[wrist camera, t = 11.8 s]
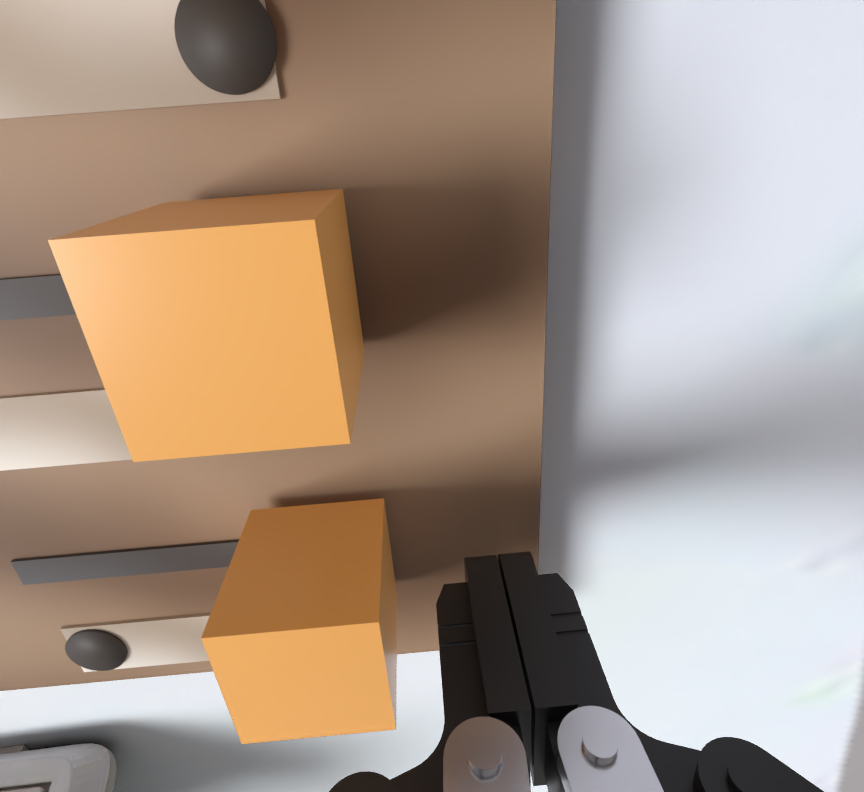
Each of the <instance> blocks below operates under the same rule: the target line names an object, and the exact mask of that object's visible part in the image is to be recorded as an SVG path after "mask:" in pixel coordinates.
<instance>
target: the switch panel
mask: <svg viewBox="0 0 864 792" xmlns="http://www.w3.org/2000/svg"><path fill="white" fill-rule="evenodd" d="M555 23H556V0H0V691H5V690H16V689H26V688H37V687H48V686H59V685H70V684H81V683H91V682H102V681H113V680H124V679H135V678H145V677H156V676H167V675H178V674H189V673H200V672H210V671H213V668H212V666H211V663H210V661H209V658H208V655H207V653H206V650H205V648H204V645H203V642H202V640H201V637H202V634H203V632H204V629H205V627H206V624H207V622H208V619H209V616H210V614H211V611H212V609H213V606H214V604H215V601H216V598H217V596H218V593H219V591H220V588H221V586H222V583H223V580H224V578H225V575H226V573H227V570H228V568H229V565H230V562H231V560H232V557H233V555H234V552H235V549H236V547H237V544H238V542H239V539H240V537H241V534H242V531H243V529H244V526H245V524H246V521H247V519H248V516H249V513H250V511H251V510H256V509H267V508H279V507H290V506H302V505H313V504H324V503H336V502H347V501H359V500H370V499H382V498H384V501H385V509H386V516H387V524H388V531H389V539H390V546H391V554H392V561H393V569H394V576H395V584H396V591H397V651H396V654H405V653H416V652H427V651H438V650H439V637H438V624H437V611H436V603H437V600H438V598H439V595H440V593H441V590H442V588H443V585H444V584H451V583H461V582H465V565H464V558H466V557H477V556H487V555H496V556H497V558H498V554H507V553H517V552H528V551H530V552H531V554H532V557H533V560H534V563H535V566H536V570H537V573H538V550H539V519H540V488H541V457H542V426H543V395H544V364H545V333H546V302H547V271H548V240H549V209H550V178H551V147H552V116H553V85H554V54H555ZM332 189H343V194H344V201H345V209H346V216H347V224H348V231H349V239H350V246H351V254H352V261H353V269H354V276H355V284H356V291H357V299H358V306H359V314H360V321H361V329H362V336H363V344H364V351H365V353H364V359H363V366H362V372H361V379H360V385H359V391H358V398H357V404H356V411H355V417H354V423H353V430H352V436H351V443H350V444H341V445H329V446H318V447H306V448H294V449H282V450H271V451H259V452H247V453H235V454H224V455H212V456H200V457H188V458H177V459H165V460H153V461H141V462H133V460H132V458H131V455H130V453H129V450H128V447H127V445H126V442H125V440H124V437H123V434H122V432H121V429H120V427H119V424H118V421H117V419H116V416H115V414H114V411H113V408H112V406H111V403H110V401H109V398H108V396H107V393H106V390H105V388H104V385H103V383H102V380H101V377H100V375H99V372H98V370H97V367H96V364H95V362H94V359H93V357H92V354H91V351H90V349H89V346H88V344H87V341H86V338H85V336H84V333H83V331H82V328H81V325H80V323H79V320H78V318H77V315H76V312H75V310H74V307H73V305H72V302H71V299H70V297H69V294H68V292H67V289H66V286H65V284H64V281H63V279H62V276H61V273H60V271H59V268H58V266H57V263H56V260H55V258H54V255H53V253H52V250H51V247H50V245H49V242H48V240H50V239H53V238H56V237H59V236H62V235H65V234H68V233H71V232H75V231H78V230H81V229H84V228H87V227H90V226H93V225H96V224H99V223H102V222H106V221H109V220H112V219H115V218H118V217H121V216H124V215H127V214H130V213H133V212H137V211H140V210H143V209H146V208H149V207H152V206H155V205H158V204H161V203H164V202H175V201H188V200H201V199H214V198H227V197H240V196H253V195H266V194H279V193H293V192H306V191H319V190H332Z"/></svg>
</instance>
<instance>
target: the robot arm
mask: <svg viewBox="0 0 864 792" xmlns="http://www.w3.org/2000/svg"><path fill="white" fill-rule="evenodd" d="M464 565H465V582H461V583H451V584H444V585H443V588H442V590H441V593H440V595H439V598H438V600H437V603H436V611H437V624H438V637H439V650H440V663H441V676H442V689H443V702H444V715H445V724H444V730H443V734H442V737H441V740H440V742H439V744H438V746H437V747H436V749H435V750H434V752H433V753H432V754H431V755H430V756H429V757H428V759H426V760H425V761H424V762H423V763H421V764H420V765H418V766H416V767H415V768H413V769H411V770H409V771H407V772H405V773H403V774H401V775H399V776H397V777H395V778H393V779H391V780H389V779H388V778H386V777H384V776H383V775H381V774H378V773H375V772H358V773H354V774H352V775H349V776H347V777H345V778H344V779H342V780H341V781H339V782H338V783H337V784H336V785H335V786H334V787H333V788H332V789H331V790H330V791H329V792H531V789H530V771H531V776H532V781H533V786H538V785H547V787H548V792H824V791H822V790H821V789H819V788H818V787H816V786H815V785H814V784H812V783H811V782H809V781H808V780H806V779H805V778H804V777H802V776H801V775H799V774H798V773H796V772H795V771H794V770H792V769H791V768H789V767H788V766H786V765H785V764H784V763H782V762H781V761H779V760H778V759H776V758H775V757H773V756H772V755H771V754H769V753H768V752H766V751H765V750H763V749H762V748H760V747H758V746H757V745H755V744H753V743H751V742H748V741H745V740H742V739H739V738H733V737H722V738H717V739H714V740H712V741H710V742H709V743H707V744H706V745H705V746H704V748H703V749H702V751H699V750H695V749H691V748H687V747H683V746H678V745H674V744H670V743H666V742H662V741H659V740H656V739H654V738H652V737H649V736H647V735H646V734H644V733H642V732H641V731H639V730H638V729H637V728H635V727H634V726H633V725H632V724H631V723H630V722H629V721H628V720H627V719H626V718H625V717H624V716H623V714H622V713H621V712H620V710H619V709H618V707H617V705H616V703H615V701H614V699H613V696H612V693H611V691H610V688H609V685H608V683H607V680H606V677H605V674H604V672H603V669H602V666H601V664H600V661H599V658H598V656H597V653H596V650H595V648H594V645H593V642H592V640H591V637H590V634H588V630H587V626H586V624H585V621H584V618H583V616H582V615H581V610H580V608H579V605H578V602H577V600H576V597H575V594H574V592H573V590H572V589H571V588H570V587H569V586H568V584H567V583H566V582H565V581H564V580H563V579H562V578H561V577H560V576H559V575H558V574H557V573H554V574H543V575H538V573H537V570H536V566H535V563H534V560H533V557H532V554H531V552H530V551H528V552H517V553H507V554H498V558H497V556H496V555H487V556H477V557H466V558H464Z"/></svg>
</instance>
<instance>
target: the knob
mask: <svg viewBox="0 0 864 792" xmlns="http://www.w3.org/2000/svg"><path fill="white" fill-rule="evenodd" d="M201 640H202V642H203V645H204V648H205V650H206V653H207V655H208V658H209V661H210V663H211V666H212V668H213V671H214V674H215V676H216V679H217V681H218V684H219V687H220V689H221V692H222V694H223V697H224V700H225V702H226V705H227V707H228V710H229V713H230V715H231V718H232V720H233V723H234V726H235V728H236V731H237V733H238V736H239V739H240V741H241V744H248V743H258V742H269V741H280V740H290V739H301V738H311V737H322V736H332V735H343V734H353V733H364V732H374V731H385V730H395V729H396V651H397V591H396V584H395V576H394V569H393V561H392V554H391V546H390V539H389V531H388V524H387V516H386V509H385V501H384V498H382V499H370V500H359V501H347V502H336V503H324V504H313V505H302V506H290V507H279V508H267V509H256V510H251V511H250V513H249V516H248V519H247V521H246V524H245V526H244V529H243V531H242V534H241V537H240V539H239V542H238V544H237V547H236V549H235V552H234V555H233V557H232V560H231V562H230V565H229V568H228V570H227V573H226V575H225V578H224V580H223V583H222V586H221V588H220V591H219V593H218V596H217V598H216V601H215V604H214V606H213V609H212V611H211V614H210V616H209V619H208V622H207V624H206V627H205V629H204V632H203V634H202V637H201Z"/></svg>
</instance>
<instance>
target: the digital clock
mask: <svg viewBox="0 0 864 792" xmlns="http://www.w3.org/2000/svg"><path fill="white" fill-rule="evenodd" d="M116 775H117V763H116V760H115V757H114V754H113V752H111V751H110V750H108V749H107V748H106V747H104V746H102V745H98V744H93V743H89V744H76V745H68V746H60V747H53V748H45V749H37V750H29V749H28V748H27V747H26V746H25V745H17V746H10V747H2V748H0V792H114V787H115V783H116Z"/></svg>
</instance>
